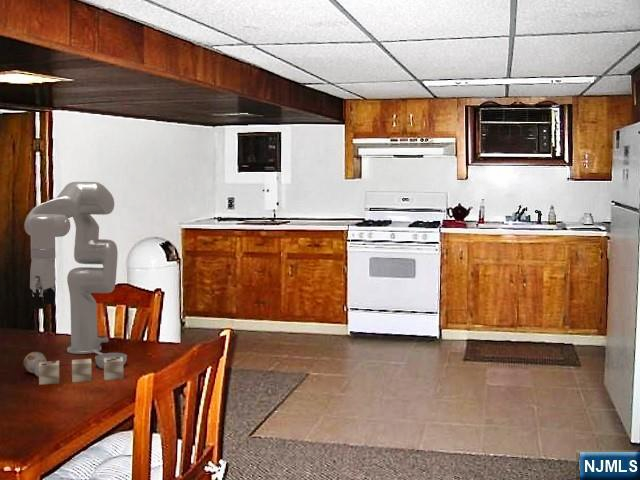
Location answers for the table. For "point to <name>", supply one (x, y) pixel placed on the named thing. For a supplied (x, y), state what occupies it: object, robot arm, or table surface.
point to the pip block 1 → (49, 372)
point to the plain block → (81, 370)
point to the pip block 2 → (113, 368)
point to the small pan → (101, 356)
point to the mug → (34, 362)
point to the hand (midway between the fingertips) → (44, 306)
